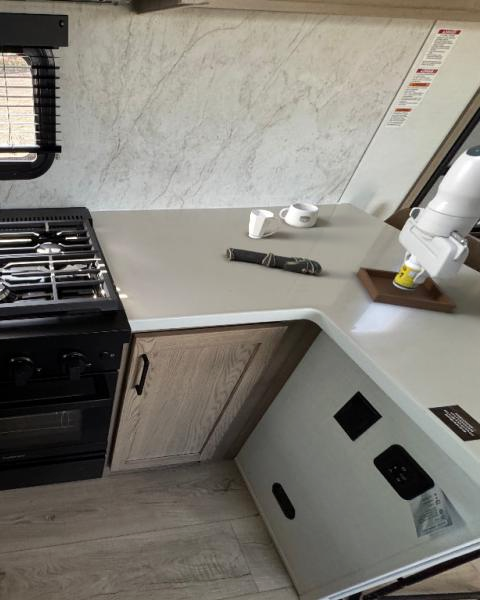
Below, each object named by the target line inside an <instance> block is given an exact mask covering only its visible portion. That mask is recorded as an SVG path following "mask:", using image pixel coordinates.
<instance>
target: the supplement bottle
mask: <svg viewBox="0 0 480 600" xmlns="http://www.w3.org/2000/svg"><path fill="white" fill-rule="evenodd" d="M403 263H404V262H403ZM401 266H402V265H401ZM421 268H422V266H421V265H420V264H419V263H418V261H417V260H416V257H415V256H414V255H413V254H412V255H411V257H410V258H409V260H407V261H406V262H405V263H404V265H403V266H402V267H400V270H399V271H398V272H399V273H398V274H397V276H396V277H395V279H394V281H393V284H394V285H395V286H396V287H398V288H401V289H404V290H410V291H412V290H415V289H416V288H417V287H418V285H419V284H418V283H414V281H413V280H412V277H413V276H414V274H418V273H420V272H421Z"/></svg>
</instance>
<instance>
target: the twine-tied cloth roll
mask: <svg viewBox="0 0 480 600" xmlns="http://www.w3.org/2000/svg"><path fill="white" fill-rule="evenodd" d="M225 250H226V252H225V256H226V258H227V260H228V261H232V260H237V261H243V262H250V263H256V264H262V265H263V266H265V267H267V268H269V267H277V268H281V269H282V268H283V270H285V271H290V272H295V273H304V274H305V273H308V274H321V273H322V272H323V267H322V264H321V263H320V262H318V261H316V260H315V259H314V260H313V259H308V258H303V257H296V256H291V257H289V256H283V255H277V254H274V253H273V252H268V253H266V252H258V251H254V250H248V249H241V248H234V247H227V248H226V249H225Z"/></svg>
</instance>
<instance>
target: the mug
mask: <svg viewBox="0 0 480 600" xmlns="http://www.w3.org/2000/svg"><path fill="white" fill-rule="evenodd" d="M319 210H320V209H319V207H318V206H316V205H314V204H311V203H307V202H293V203H291V204H290V206H289V207H285V208H282V209H281V210H280V211H279V214H278V215H279V218H281V219H283V220H284V221H285V223H286V224H288V225H290V226H292V227H296V228H311V227H314V225H315V224H316V222H317V218H318V214H319ZM285 211H287V212H286V214H285V215H284V216H283V213H284V212H285Z"/></svg>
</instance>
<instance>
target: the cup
mask: <svg viewBox="0 0 480 600" xmlns="http://www.w3.org/2000/svg"><path fill="white" fill-rule="evenodd" d="M274 215H275V214H274V213H273V212H271V211H269V210H266V209H252V210H251V212H250V217H249V224H248V233H249V234H248V236H249V237H250V238H251V239H252V238H253V239H257V240H258V239H262V238H267V237H269V236H271V235H274V234H275V233H277V232H278V231H279V230H280V228H281V224H282V223H281V219H280V217H278V216H274ZM272 220H277V221H278V226H277V227H276V229H275V230H273V231H271V232H269V233H267V234H265V233H266V231H267V229H268V227H269V225H270V223H271V221H272Z"/></svg>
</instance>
